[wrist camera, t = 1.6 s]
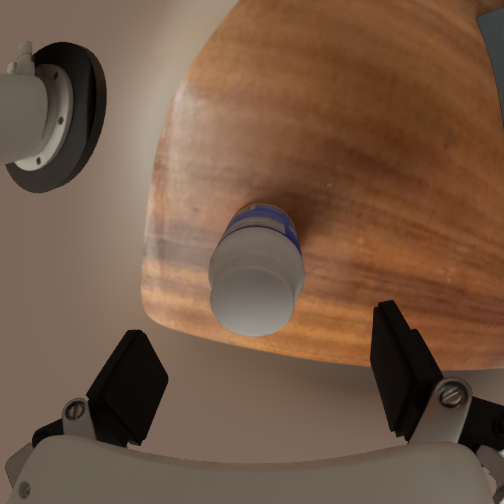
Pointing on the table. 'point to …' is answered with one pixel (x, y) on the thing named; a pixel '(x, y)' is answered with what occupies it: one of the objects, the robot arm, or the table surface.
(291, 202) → the table surface
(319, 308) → the table surface
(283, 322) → the pill bottle
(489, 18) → the carton
